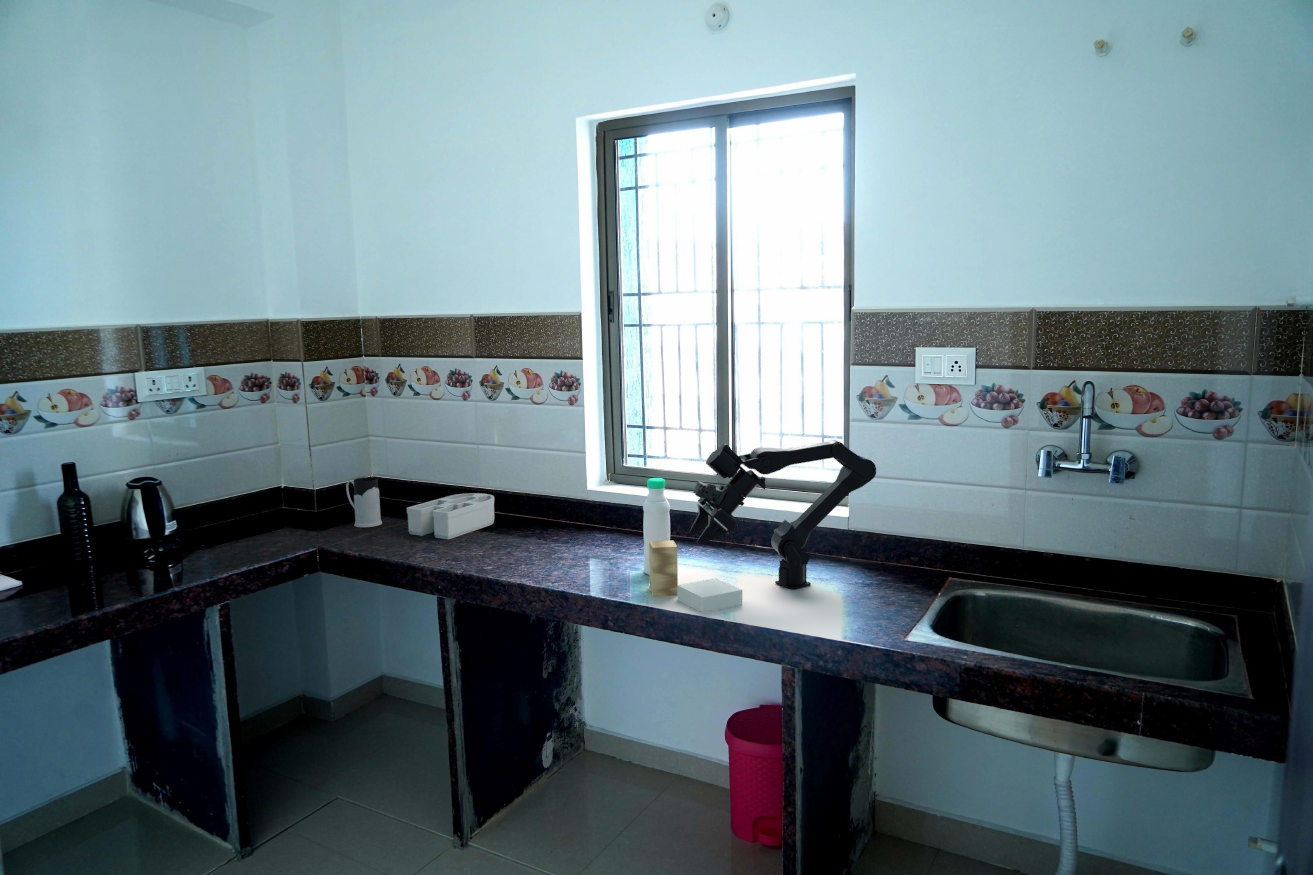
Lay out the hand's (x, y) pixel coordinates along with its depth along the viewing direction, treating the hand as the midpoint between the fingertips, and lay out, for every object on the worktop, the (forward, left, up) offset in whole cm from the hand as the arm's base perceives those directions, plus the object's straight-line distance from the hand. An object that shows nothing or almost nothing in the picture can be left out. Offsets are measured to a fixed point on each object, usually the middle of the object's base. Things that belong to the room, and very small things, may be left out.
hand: (694, 538), depth 214 cm
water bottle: (-2, -18, -13) cm, 22 cm away
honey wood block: (+6, -4, -13) cm, 15 cm away
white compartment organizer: (+21, -98, -14) cm, 101 cm away
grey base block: (+2, +9, -13) cm, 16 cm away
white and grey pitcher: (+43, -123, -13) cm, 131 cm away
